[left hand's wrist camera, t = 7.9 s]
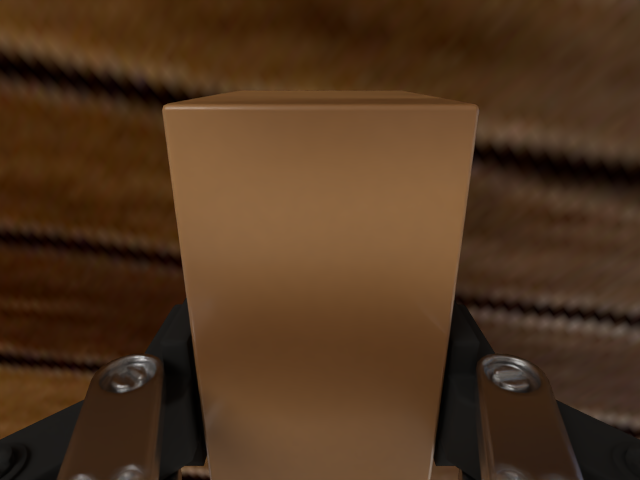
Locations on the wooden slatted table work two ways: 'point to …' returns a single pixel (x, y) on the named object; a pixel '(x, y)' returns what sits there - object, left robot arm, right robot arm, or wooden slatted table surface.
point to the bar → (320, 275)
